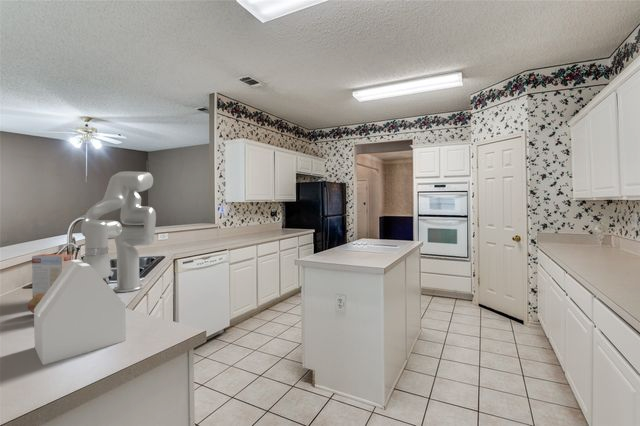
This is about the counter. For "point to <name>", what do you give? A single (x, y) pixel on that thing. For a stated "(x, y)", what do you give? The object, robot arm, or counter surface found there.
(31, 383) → the counter surface
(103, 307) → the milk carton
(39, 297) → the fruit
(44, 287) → the cracker box
